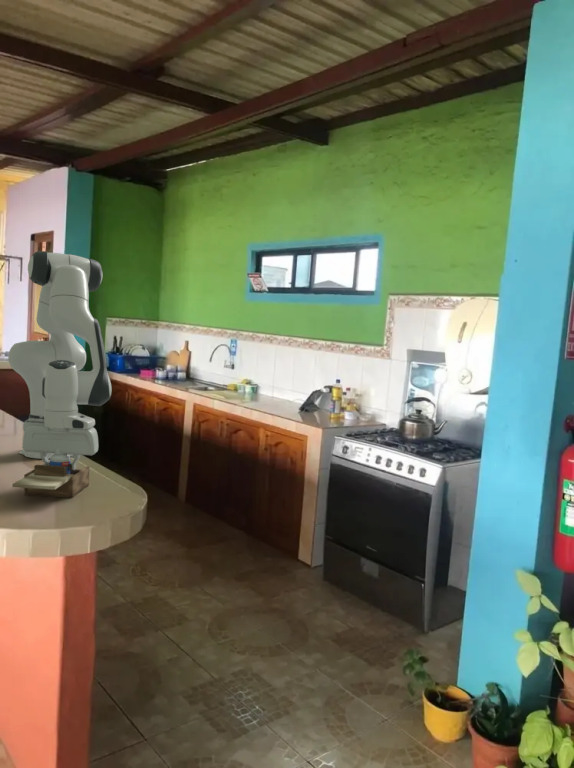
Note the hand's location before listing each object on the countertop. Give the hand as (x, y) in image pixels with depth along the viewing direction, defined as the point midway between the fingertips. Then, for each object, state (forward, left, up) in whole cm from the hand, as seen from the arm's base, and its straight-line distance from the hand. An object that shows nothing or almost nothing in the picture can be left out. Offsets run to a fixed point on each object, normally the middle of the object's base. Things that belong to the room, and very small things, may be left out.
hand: (60, 468), depth 176 cm
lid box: (+2, 0, -6) cm, 6 cm away
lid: (+11, 0, -1) cm, 11 cm away
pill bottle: (0, 0, -4) cm, 4 cm away
